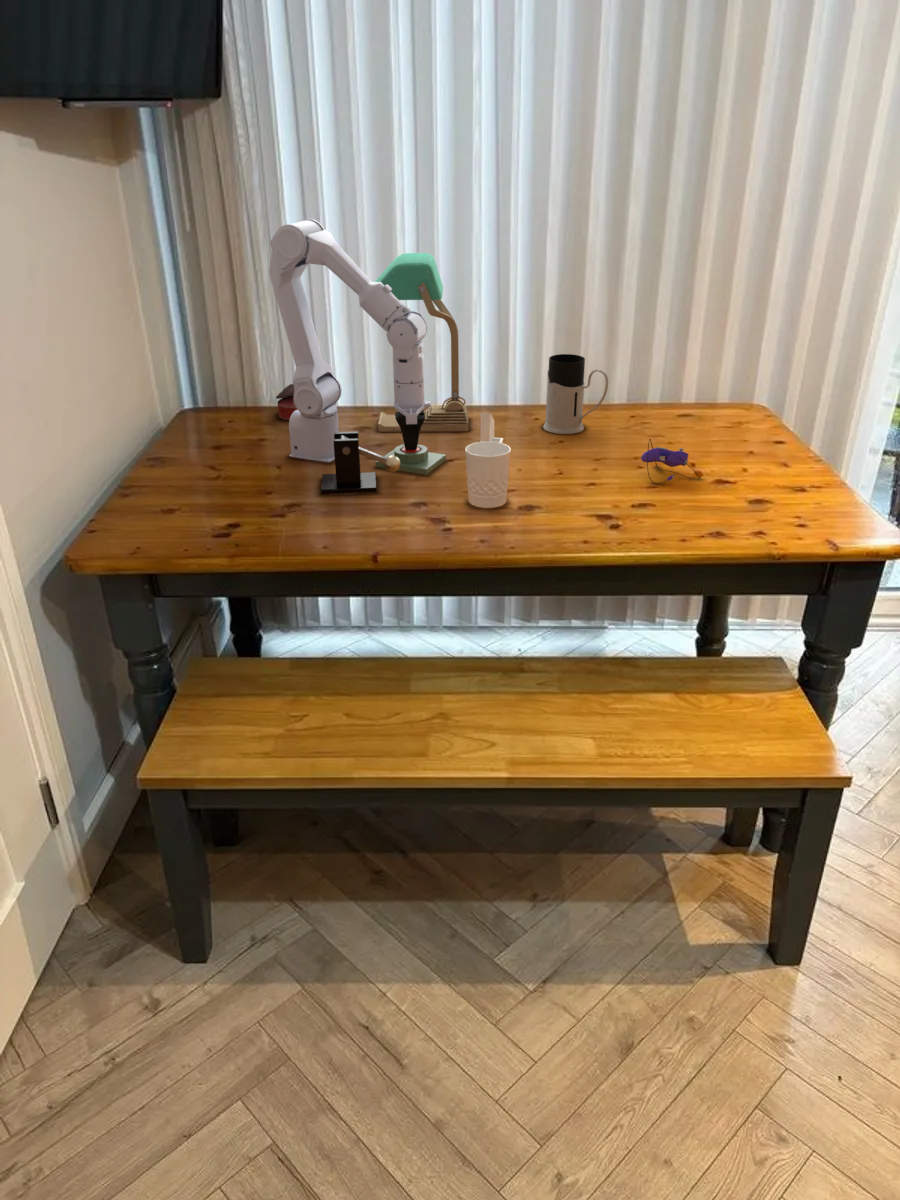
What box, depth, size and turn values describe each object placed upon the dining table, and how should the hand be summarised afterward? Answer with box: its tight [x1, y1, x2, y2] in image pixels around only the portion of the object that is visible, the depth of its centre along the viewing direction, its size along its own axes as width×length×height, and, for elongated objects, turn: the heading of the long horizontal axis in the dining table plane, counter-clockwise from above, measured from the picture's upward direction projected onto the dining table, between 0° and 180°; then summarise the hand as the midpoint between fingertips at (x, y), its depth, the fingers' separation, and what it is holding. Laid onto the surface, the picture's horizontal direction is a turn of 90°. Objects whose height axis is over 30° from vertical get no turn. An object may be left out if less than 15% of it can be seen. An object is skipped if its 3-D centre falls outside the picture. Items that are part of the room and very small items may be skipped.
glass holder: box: [542, 353, 609, 435], centre depth 201 cm, size 9×14×15 cm, turn 54°
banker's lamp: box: [374, 252, 469, 433], centre depth 200 cm, size 16×21×35 cm
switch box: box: [375, 443, 447, 475], centre depth 186 cm, size 11×9×3 cm
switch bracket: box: [320, 430, 377, 495], centre depth 174 cm, size 10×8×10 cm
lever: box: [340, 435, 400, 473], centre depth 174 cm, size 12×3×3 cm, turn 93°
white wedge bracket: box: [479, 411, 504, 444], centre depth 187 cm, size 4×10×9 cm
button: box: [402, 447, 420, 453], centre depth 185 cm, size 4×4×2 cm
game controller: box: [640, 438, 701, 485], centre depth 179 cm, size 10×8×10 cm
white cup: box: [464, 441, 512, 509], centre depth 167 cm, size 8×8×10 cm
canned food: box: [275, 383, 298, 421], centre depth 215 cm, size 11×10×10 cm
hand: (410, 449), depth 185 cm, fingers closed, pressing on button
